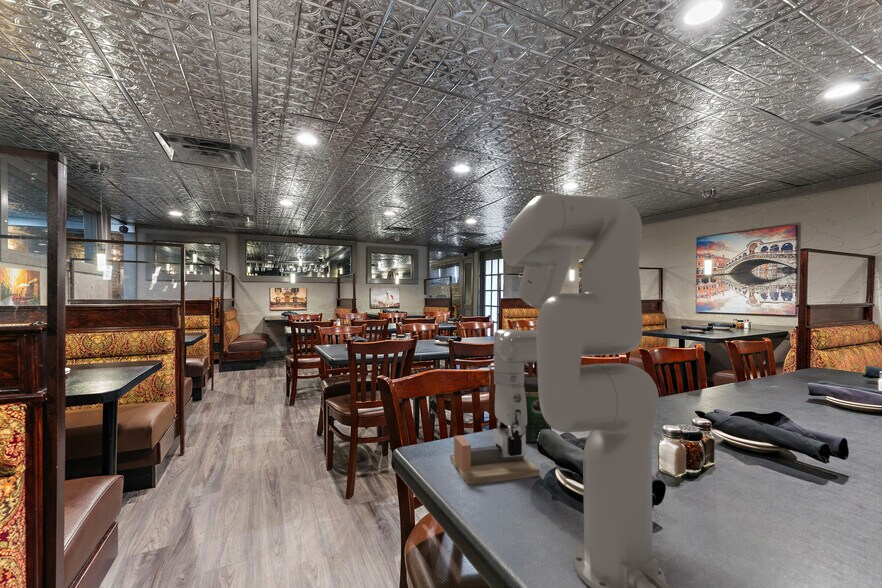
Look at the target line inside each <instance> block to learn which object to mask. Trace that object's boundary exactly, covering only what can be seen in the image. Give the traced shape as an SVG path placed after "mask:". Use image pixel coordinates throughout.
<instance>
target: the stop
mask: <svg viewBox="0 0 882 588" xmlns="http://www.w3.org/2000/svg"><path fill="white" fill-rule="evenodd" d="M471 445H472V444H471V443H469V441H467V439H466V438H465V437H464V436H463V435H454V436H453V446H454V447H453V449H454V451H453V452H454V460H455V462H456V463H457V465H458V466H459V467H460V469H461V470H462V471H463V472H465V471H471V448H472V446H471Z"/></svg>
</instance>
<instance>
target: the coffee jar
mask: <svg viewBox="0 0 882 588" xmlns="http://www.w3.org/2000/svg"><path fill="white" fill-rule="evenodd" d="M523 386H524V389H525V396H526V406H527V425H526V426H525V431H524V434H525V435H526V441H527V442H526V443H529V442H536V443H538V442H537V439H538V435H539V432H540V430H542V429H550V430H551V431H552V427H550V426H549V425H548V424H547V422H546V421H545V419H544V417H543V415H542V412H541V408H540V403H539V394H538V376H533V377H532V376H530V377H524V385H523Z"/></svg>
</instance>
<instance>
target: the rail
mask: <svg viewBox="0 0 882 588" xmlns="http://www.w3.org/2000/svg"><path fill="white" fill-rule="evenodd" d="M524 457H525V455H522V456H513V457H504V458H503V457H502V456H501V447H500V446H499V445H498V446H494V445H491V446H481V447H479V446H478V447H471V466H476V465H485V464H494V463H502V462H511V461H520V460H524Z"/></svg>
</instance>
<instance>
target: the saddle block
mask: <svg viewBox="0 0 882 588" xmlns="http://www.w3.org/2000/svg"><path fill="white" fill-rule="evenodd" d="M515 430H517V428H514V429H513V433H514V432H515ZM509 439H510V433H509V428H500V429H498V428H494V429H493V446H498V445H499V446H500V447H501V456H502V457H503V458H504V457H513V456H510V455H509ZM526 445H527V442H526V435H525V434H524V433H523V438H522V454H521V455H516V456H522V455H524V456H527V454H526V453H527V451H526V450H527V447H526Z"/></svg>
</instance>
